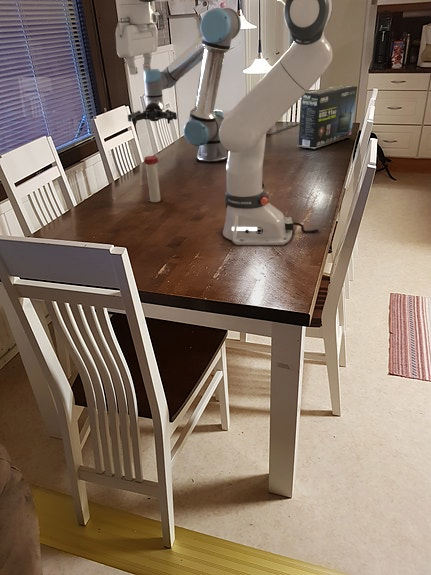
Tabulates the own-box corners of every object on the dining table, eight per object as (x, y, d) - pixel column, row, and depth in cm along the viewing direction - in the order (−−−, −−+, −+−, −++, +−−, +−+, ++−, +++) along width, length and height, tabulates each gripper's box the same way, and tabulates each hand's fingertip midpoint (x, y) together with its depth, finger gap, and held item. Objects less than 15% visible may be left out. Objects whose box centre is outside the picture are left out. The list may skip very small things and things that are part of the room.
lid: (153, 164, 168) (152, 160, 167) (141, 163, 170) (141, 158, 169) (160, 161, 172) (160, 156, 171) (149, 160, 174) (149, 155, 173)
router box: (314, 151, 231) (318, 94, 217) (296, 148, 237) (299, 92, 224) (352, 138, 251) (358, 85, 238) (335, 135, 258) (340, 83, 245)
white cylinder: (156, 202, 177) (152, 160, 168) (148, 201, 178) (143, 159, 170) (162, 199, 180) (158, 157, 171) (153, 197, 181) (149, 156, 173)
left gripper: (183, 118, 204) (183, 129, 185) (126, 121, 203) (121, 132, 185) (181, 100, 200) (181, 109, 182) (124, 103, 199) (118, 112, 181)
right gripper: (128, 17, 116) (135, 76, 124) (159, 15, 133) (163, 68, 140) (106, 18, 118) (114, 76, 125) (139, 16, 135) (144, 68, 142)
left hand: (151, 120), depth 183 cm, fingers open, 13 cm apart
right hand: (140, 72), depth 133 cm, fingers open, 8 cm apart
